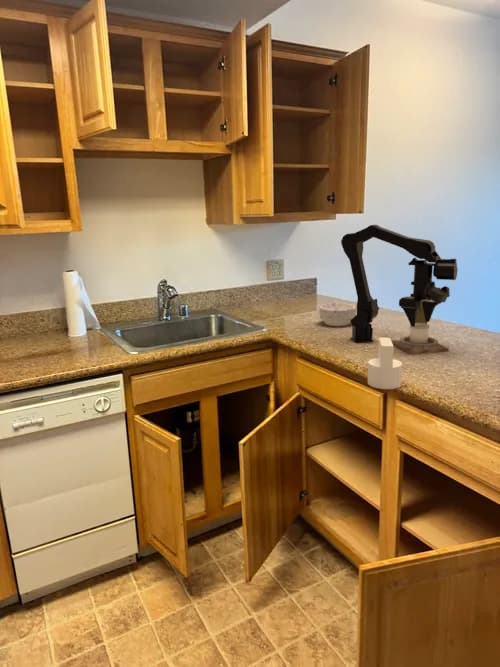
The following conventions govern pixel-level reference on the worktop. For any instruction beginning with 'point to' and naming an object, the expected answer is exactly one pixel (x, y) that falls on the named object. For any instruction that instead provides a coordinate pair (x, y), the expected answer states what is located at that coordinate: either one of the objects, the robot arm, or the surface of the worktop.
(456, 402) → the worktop surface
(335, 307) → the white bowl
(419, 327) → the cap
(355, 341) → the robot arm
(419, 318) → the brown pepper mill
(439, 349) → the collar base
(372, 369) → the cylinder with rectangular tab
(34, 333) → the worktop surface
